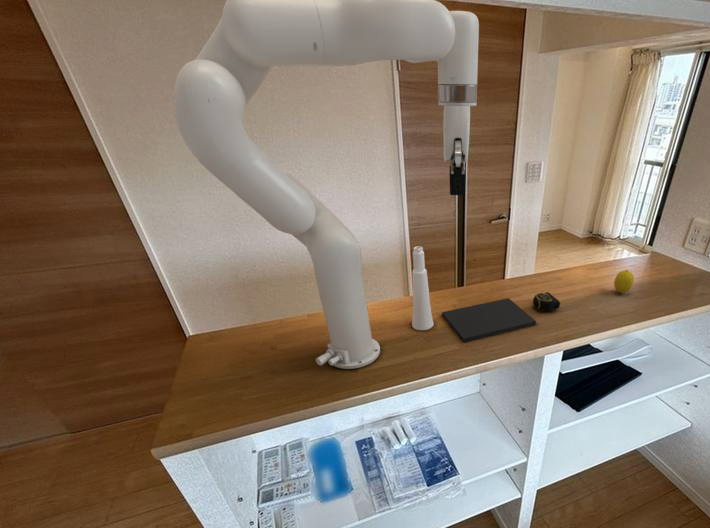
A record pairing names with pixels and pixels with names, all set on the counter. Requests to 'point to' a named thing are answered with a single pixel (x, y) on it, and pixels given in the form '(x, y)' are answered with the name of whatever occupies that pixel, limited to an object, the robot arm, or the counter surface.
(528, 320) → the mat
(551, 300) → the tape measure
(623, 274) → the lemon
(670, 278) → the counter surface
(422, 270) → the cosmetic bottle
